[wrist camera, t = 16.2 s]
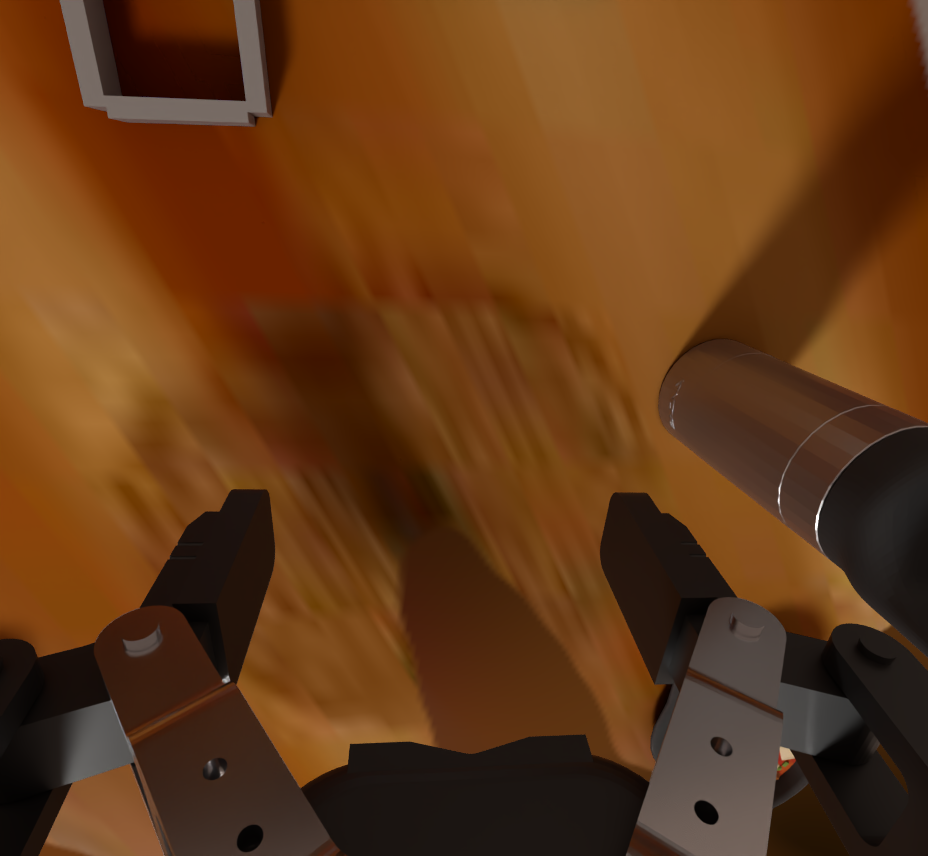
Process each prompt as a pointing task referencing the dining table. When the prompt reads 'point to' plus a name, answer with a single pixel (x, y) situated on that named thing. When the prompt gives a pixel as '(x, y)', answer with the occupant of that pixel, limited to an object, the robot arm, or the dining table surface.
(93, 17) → the cup holder
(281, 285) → the dining table surface
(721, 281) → the dining table surface
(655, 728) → the casserole
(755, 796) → the robot arm
